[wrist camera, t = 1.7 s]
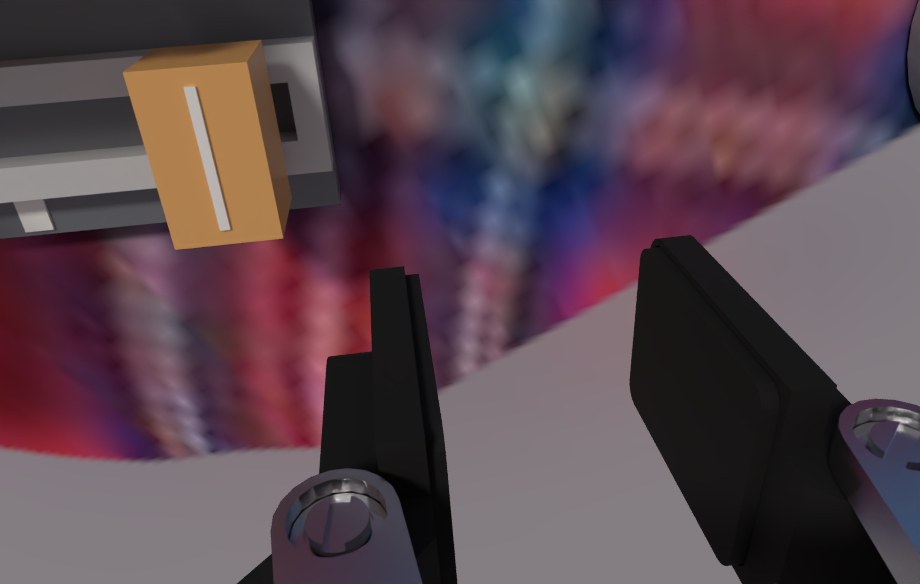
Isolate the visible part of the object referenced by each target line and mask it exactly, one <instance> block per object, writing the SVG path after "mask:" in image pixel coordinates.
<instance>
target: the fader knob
mask: <svg viewBox="0 0 920 584" xmlns="http://www.w3.org/2000/svg"><path fill="white" fill-rule="evenodd" d="M123 76H124V79H125V82H126V86H127V89H128V92H129V96H130V99H131V103H132V106H133V109H134V113H135V116H136V119H137V123H138V126H139V129H140V133H141V136H142V140H143V143H144V146H145V150H146V153H147V156H148V160H149V163H150V167H151V170H152V173H153V177H154V180H155V183H156V187H157V190H158V194H159V197H160V200H161V204H162V207H163V210H164V214H165V217H166V220H167V224H168V227H169V231H170V234H171V237H172V241H173V244H174V247H175V250H177V249H187V248H196V247H206V246H215V245H225V244H235V243H244V242H254V241H263V240H273V239H282V238H283V237H284V233H285V228H286V223H287V219H288V214H289V209H290V205H291V200H292V196H291V191H290V186H289V181H288V175H287V170H286V165H285V160H284V155H283V149H282V144H281V139H280V134H279V129H278V123H277V118H276V113H275V108H274V103H273V97H272V92H271V87H270V82H269V77H268V71H267V66H266V61H265V56H264V51H263V45H262V40H251V41H239V42H227V43H214V44H202V45H190V46H177V47H165V48H154V49H152V50H151V51H150V52H148V53H147V54H146V55H144V56H143V57H142V58H141V59H139V60H138V61H137V62H135V63H134V64H133V65H131V66H130V67H129V68H128V69H126V70H125V71H124V72H123Z"/></svg>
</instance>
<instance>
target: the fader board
mask: <svg viewBox="0 0 920 584" xmlns="http://www.w3.org/2000/svg"><path fill="white" fill-rule="evenodd" d="M251 40H262V45H263V51H264V56H265V61H266V66H267V71H268V77H269V82H270V87H271V92H272V97H273V103H274V108H275V113H276V118H277V123H278V129H279V134H280V139H281V144H282V149H283V155H284V160H285V165H286V170H287V175H288V181H289V186H290V191H291V196H292V200H291V205H290V209H289V210H291V209H301V208H311V207H321V206H331V205H340V201H341V190H340V183H339V177H338V170H337V164H336V157H335V151H334V144H333V137H332V131H331V124H330V118H329V111H328V105H327V98H326V92H325V85H324V79H323V72H322V66H321V59H320V53H319V46H318V40H317V33H316V26H315V20H314V13H313V7H312V0H0V239H4V238H14V237H24V236H34V235H44V234H54V233H64V232H74V231H83V230H93V229H103V228H113V227H123V226H133V225H143V224H153V223H163V222H167V220H166V217H165V214H164V210H163V207H162V204H161V200H160V197H159V194H158V190H157V187H156V183H155V180H154V177H153V173H152V170H151V167H150V163H149V160H148V156H147V153H146V150H145V146H144V143H143V140H142V136H141V133H140V129H139V126H138V123H137V119H136V116H135V113H134V109H133V106H132V103H131V99H130V96H129V92H128V89H127V86H126V82H125V79H124V76H123V72H124V71H125V70H126V69H128V68H129V67H130V66H131V65H133V64H134V63H135V62H137V61H138V60H139V59H141V58H142V57H143V56H144V55H146V54H147V53H148V52H150V51H151V50H152V49H154V48H165V47H177V46H190V45H202V44H214V43H227V42H239V41H251Z"/></svg>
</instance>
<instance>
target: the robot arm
mask: <svg viewBox="0 0 920 584" xmlns="http://www.w3.org/2000/svg"><path fill="white" fill-rule="evenodd" d="M907 58H908V78H909V86H910V89H911V93H912V97H913V100H914V104H915V107H916V109H917V111H918V113H919V114H920V0H919V1H918V4H917V8H916V11H915V14H914V18H913V21H912V24H911V32H910V39H909V47H908V54H907ZM370 301H371V334H372V352H364V353H355V354H347V355H338V356H330V357H328V358H327V365H326V380H325V395H324V410H323V424H322V439H321V454H320V470H319V474H318V475H316V476H313V477H310V478H309V479H307V480H305V481H304V482H302V483H301V484H299V485H297V486H296V487H294V488H293V489H292V490H291V491H290V492H289V493H288V494H287V495H286V496H285V497H284V498H283V499H282V501H281V502H280V504H279V506H278V508H277V510H276V511H275V513H274V515H273V519H272V526H271V546H272V554H271V555H270V556H269V557H268V558H266V559H265V560H264V561H263V562H262V563H260V564H259V565H258V566H257V567H256V568H255V569H253V570H252V571H251V572H250V573H249V574H248V575H246V576H245V577H244V578H243V579H242V580H241V581H239V582H238V583H237V584H457V575H456V563H455V552H454V541H453V529H452V518H451V507H450V495H449V485H448V473H447V462H446V451H445V443H444V434H443V427H442V419H441V413H440V407H439V400H438V394H437V387H436V381H435V375H434V368H433V362H432V356H431V349H430V343H429V337H428V330H427V324H426V318H425V311H424V305H423V298H422V292H421V286H420V279H419V274H413V275H405V271H404V266H403V267H394V268H385V269H376V270H370ZM630 392H631V397H632V400H633V402H634V405H635V406H636V408H637V410H638V412H639V414H640V416H641V418H642V419H643V421H644V423H645V425H646V427H647V429H648V431H649V432H650V434H651V436H652V438H653V440H654V442H655V444H656V446H657V447H658V449H659V451H660V453H661V455H662V457H663V459H664V461H665V462H666V464H667V466H668V468H669V470H670V472H671V474H672V475H673V477H674V479H675V481H676V483H677V485H678V487H679V488H680V490H681V492H682V494H683V496H684V498H685V500H686V501H687V503H688V505H689V507H690V509H691V511H692V513H693V514H694V516H695V518H696V520H697V522H698V524H699V526H700V528H701V529H702V531H703V533H704V535H705V537H706V539H707V541H708V542H709V544H710V546H711V548H712V550H713V552H714V553H715V555H716V557H717V559H718V560H719V562H720V563H721V564H722V565H724V566H729V565H732V566H733V568H734V570H735V572H736V574H737V575H738V577H739V579H740V581H741V583H742V584H920V406H917V405H914V404H910V403H906V402H901V401H897V400H888V399H870V400H862V401H858V402H856V403H854V404H851V403H850V402H849V401H848V400H847V399H846V398H845V397H844V396H843V395H842V394H841V393H840V392H839V391H838V390H837V385H836V384H835V383H834V382H833V381H832V380H831V379H830V378H829V376H827V375H826V373H825V372H824V371H823V370H822V369H820V367H819V366H818V365H817V364H816V363H815V362H814V361H813V360H812V359H811V358H810V357H809V356H808V355H807V354H806V353H805V352H804V351H803V350H802V349H801V348H800V347H799V345H798V344H797V343H796V342H795V341H794V340H793V339H792V338H791V337H790V336H789V335H788V334H787V333H786V332H785V331H784V330H783V329H782V328H781V327H780V326H779V325H778V324H777V323H776V322H775V321H774V320H773V319H772V318H771V317H770V316H769V315H768V313H767V312H766V311H765V310H764V309H763V308H762V307H761V306H760V305H759V304H758V303H757V302H756V301H755V300H754V299H753V298H752V297H751V296H750V295H749V294H748V293H747V292H746V291H745V290H744V289H743V288H742V287H741V286H740V285H739V284H738V283H737V282H736V280H735V279H734V278H733V277H732V276H731V275H730V274H729V273H728V272H727V271H726V270H725V269H724V268H723V267H722V266H721V265H720V264H719V263H718V262H717V261H716V260H715V259H714V258H713V257H712V256H711V255H710V254H709V253H708V251H707V250H706V249H705V248H704V247H703V246H702V245H701V244H700V243H699V242H698V241H697V240H696V239H695V238H694V237H692V236H691V235H688V236H678V237H669V238H660V239H655V240H654V241H653V243H652V245H651V248H649V249H644V250H643V251H642V253H641V257H640V267H639V278H638V290H637V302H636V313H635V325H634V337H633V348H632V359H631V371H630Z"/></svg>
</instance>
